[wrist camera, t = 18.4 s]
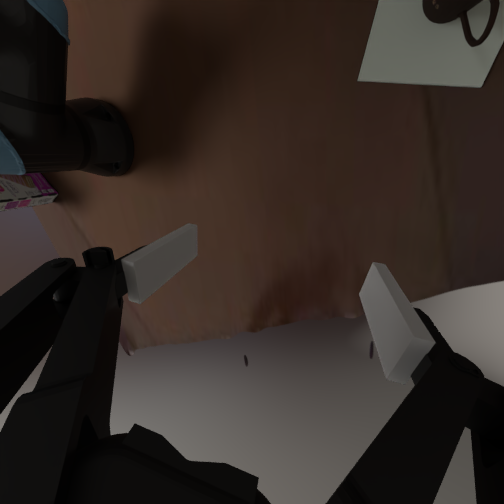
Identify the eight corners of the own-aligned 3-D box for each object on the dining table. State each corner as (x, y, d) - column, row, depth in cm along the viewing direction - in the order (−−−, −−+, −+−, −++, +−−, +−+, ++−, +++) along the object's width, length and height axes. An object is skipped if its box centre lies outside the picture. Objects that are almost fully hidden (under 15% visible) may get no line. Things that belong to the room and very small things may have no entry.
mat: (357, 81, 32) (357, 80, 31) (402, -89, 25) (403, -92, 24) (479, 87, 29) (481, 86, 28) (571, -104, 22) (575, -108, 21)
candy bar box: (60, 193, 57) (-25, 205, 43) (53, 202, 60) (-30, 218, 45) (28, 157, 55) (-73, 157, 41) (22, 168, 57) (-75, 173, 43)
